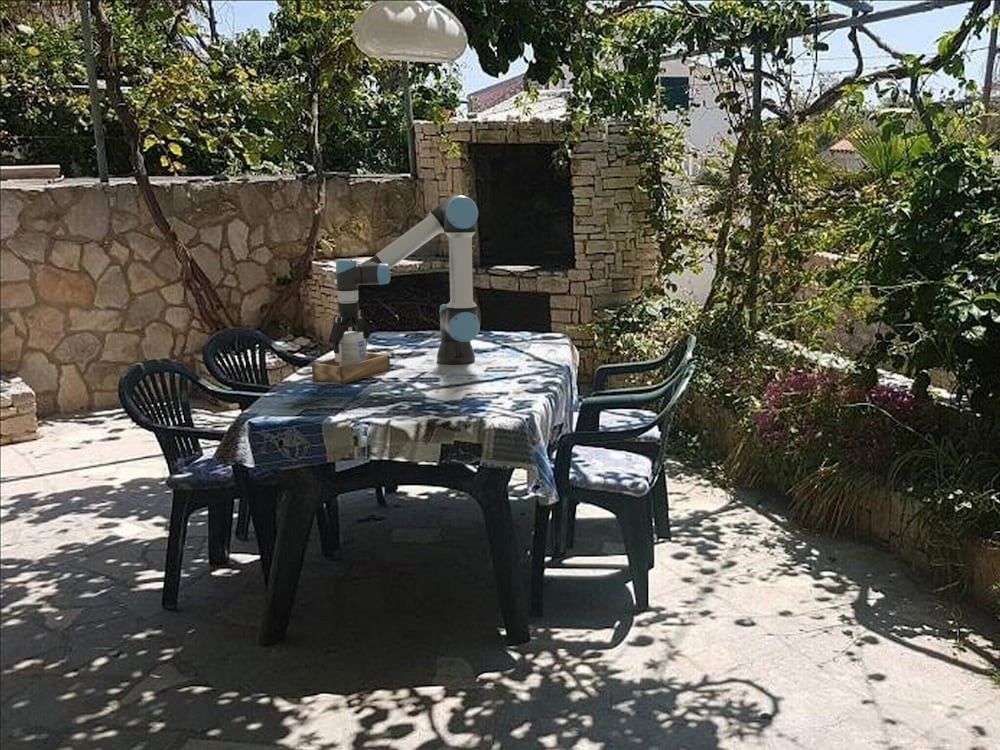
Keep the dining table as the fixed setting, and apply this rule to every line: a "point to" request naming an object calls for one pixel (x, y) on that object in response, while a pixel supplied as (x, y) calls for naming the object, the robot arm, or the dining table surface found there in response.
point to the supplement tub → (352, 348)
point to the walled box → (350, 369)
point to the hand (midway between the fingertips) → (351, 358)
